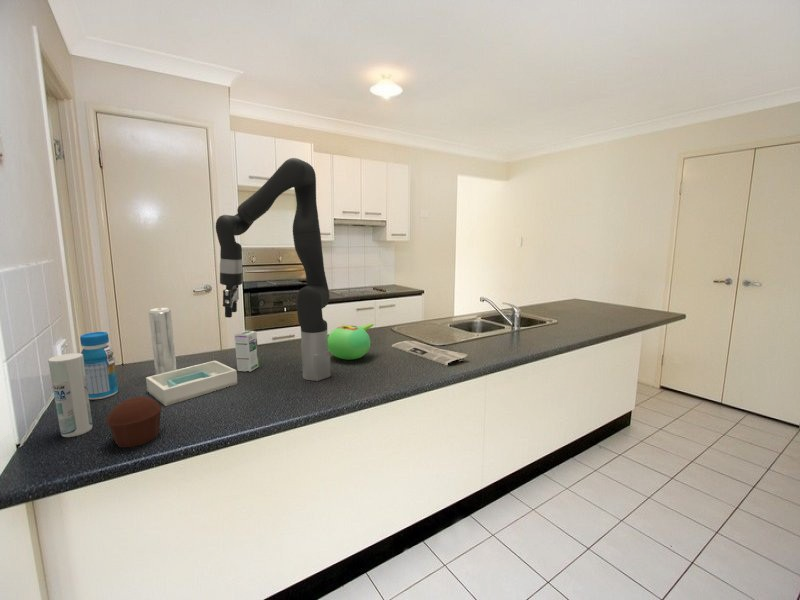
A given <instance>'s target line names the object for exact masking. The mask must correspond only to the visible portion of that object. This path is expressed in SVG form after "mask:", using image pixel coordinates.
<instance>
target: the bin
mask: <svg viewBox="0 0 800 600" xmlns="http://www.w3.org/2000/svg"><path fill="white" fill-rule="evenodd" d="M237 371H238V369H235V368H233V367H230V366H228V365H226V364H224V363H222V362H220V361H218V360H212V361H207V362H204V363H199V364H195V365H191V366H187V367H183V368H178V369H177V370H174V371H170V372H166V373H162V374H158V375H156V374H154V375H151V376H147V377H145V380H146V390H147V393H148V392H149V395H151V396H152V397H153V398H155V399H156V400H157V401H159V402H160V403H161V404H163V406H165V407H168V406H171V405H174V404H177V403H181V402H183V401H187V400H190V399H194V398H198V397H200V396H204V395H206V394H210V393H214V392H216V390H217V391H220V390H224V389H226V387H227V388H229V386H230V387H232V386H237V385H238V373H237ZM213 391H214V392H213Z"/></svg>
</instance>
